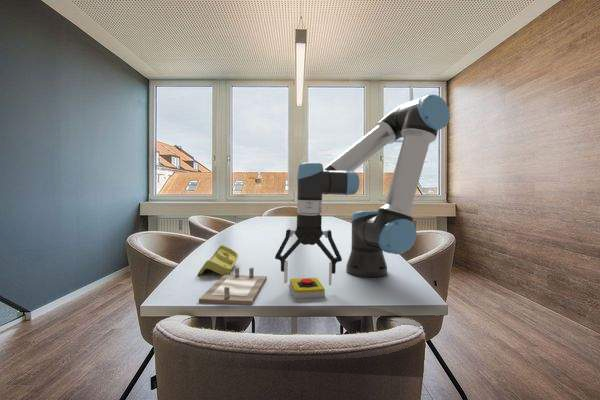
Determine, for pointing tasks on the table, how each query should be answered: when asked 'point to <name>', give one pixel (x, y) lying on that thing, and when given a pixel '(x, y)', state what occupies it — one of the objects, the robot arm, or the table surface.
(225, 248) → the plastic component
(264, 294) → the table surface
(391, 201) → the robot arm
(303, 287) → the emergency button
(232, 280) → the nest plate
